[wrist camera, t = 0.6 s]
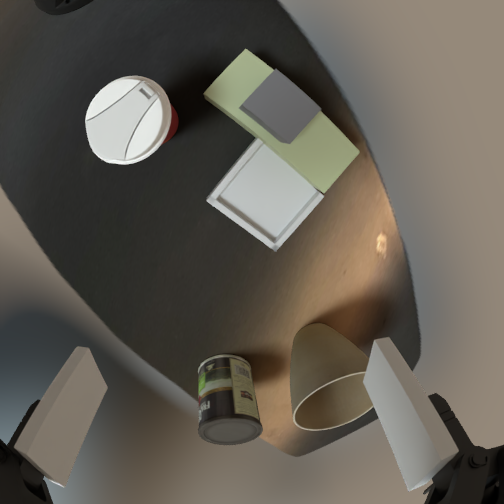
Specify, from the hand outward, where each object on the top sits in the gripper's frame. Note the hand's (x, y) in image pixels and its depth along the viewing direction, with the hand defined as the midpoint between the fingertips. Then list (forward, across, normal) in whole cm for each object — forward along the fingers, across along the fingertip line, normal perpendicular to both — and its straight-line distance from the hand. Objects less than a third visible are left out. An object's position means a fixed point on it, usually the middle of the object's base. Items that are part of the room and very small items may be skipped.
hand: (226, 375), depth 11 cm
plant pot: (+31, +12, -23) cm, 40 cm away
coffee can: (+30, -5, -29) cm, 42 cm away
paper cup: (+26, -10, +14) cm, 31 cm away
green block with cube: (+27, +3, +9) cm, 29 cm away
